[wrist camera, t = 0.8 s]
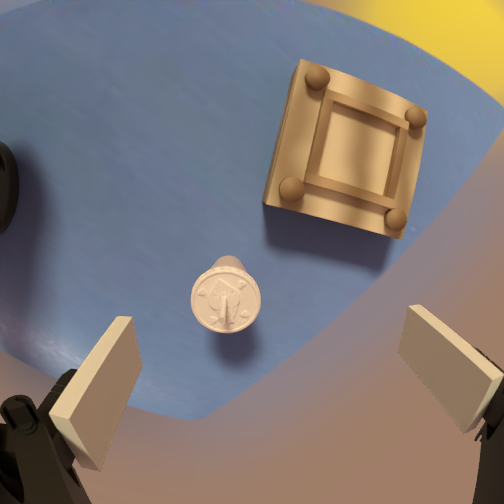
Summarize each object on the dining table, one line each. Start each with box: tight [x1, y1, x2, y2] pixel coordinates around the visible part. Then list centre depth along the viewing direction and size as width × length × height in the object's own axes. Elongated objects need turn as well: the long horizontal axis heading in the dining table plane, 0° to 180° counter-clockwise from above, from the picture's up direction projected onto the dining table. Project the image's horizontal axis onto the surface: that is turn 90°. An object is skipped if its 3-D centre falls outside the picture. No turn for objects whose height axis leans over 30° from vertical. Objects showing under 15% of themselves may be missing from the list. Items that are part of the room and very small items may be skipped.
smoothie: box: [191, 256, 261, 333], centre depth 28 cm, size 6×6×14 cm
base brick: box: [262, 59, 428, 240], centre depth 29 cm, size 16×16×6 cm
